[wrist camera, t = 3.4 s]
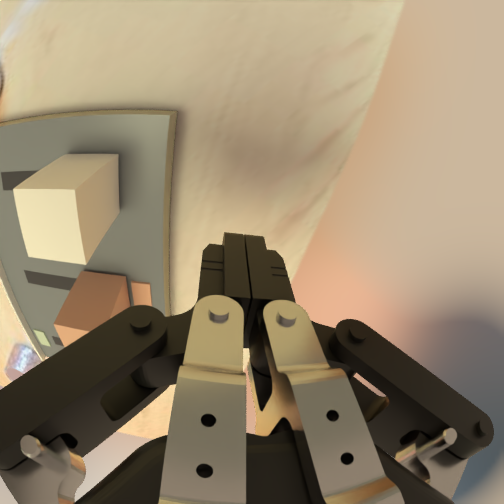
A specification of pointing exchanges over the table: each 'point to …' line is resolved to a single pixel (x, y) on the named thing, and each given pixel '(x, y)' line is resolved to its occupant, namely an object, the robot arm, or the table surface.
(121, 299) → the slider
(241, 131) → the table surface
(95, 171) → the slider
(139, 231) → the console
